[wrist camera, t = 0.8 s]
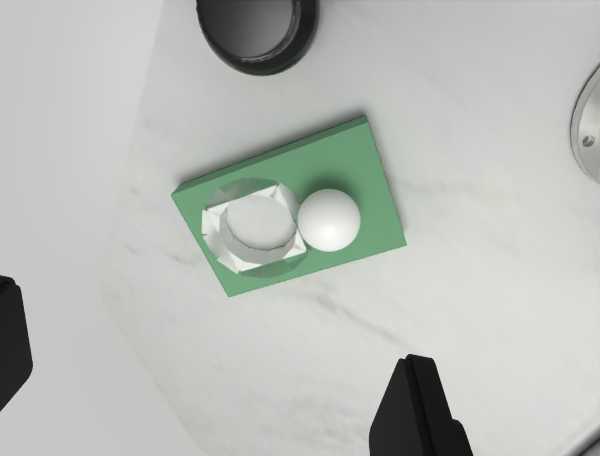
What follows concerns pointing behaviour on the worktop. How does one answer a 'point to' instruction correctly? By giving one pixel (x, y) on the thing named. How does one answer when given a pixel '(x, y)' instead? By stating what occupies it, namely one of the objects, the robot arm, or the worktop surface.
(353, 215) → the ball
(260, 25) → the supplement bottle
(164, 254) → the worktop surface
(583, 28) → the worktop surface
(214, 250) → the green flat slab
